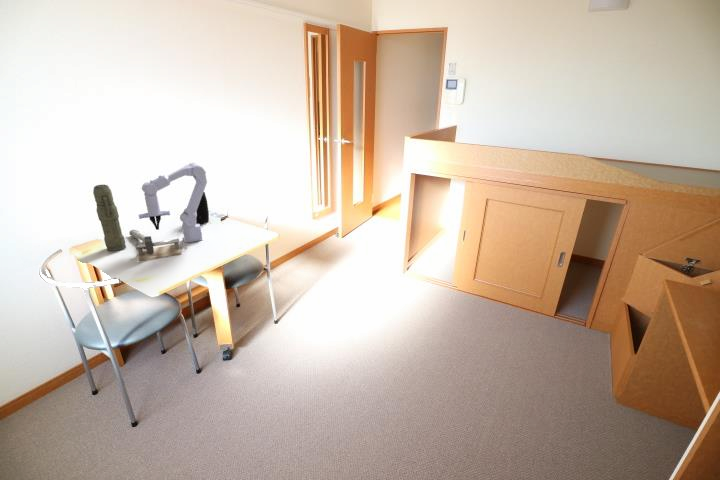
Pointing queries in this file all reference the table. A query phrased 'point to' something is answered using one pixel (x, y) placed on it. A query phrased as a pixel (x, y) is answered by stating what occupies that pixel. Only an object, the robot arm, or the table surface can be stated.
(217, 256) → the table surface
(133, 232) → the toothbrush head
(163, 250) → the pipe rig
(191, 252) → the table surface
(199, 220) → the portable speaker
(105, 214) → the olive green carved statue
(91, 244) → the table surface
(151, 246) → the tall grey prism
